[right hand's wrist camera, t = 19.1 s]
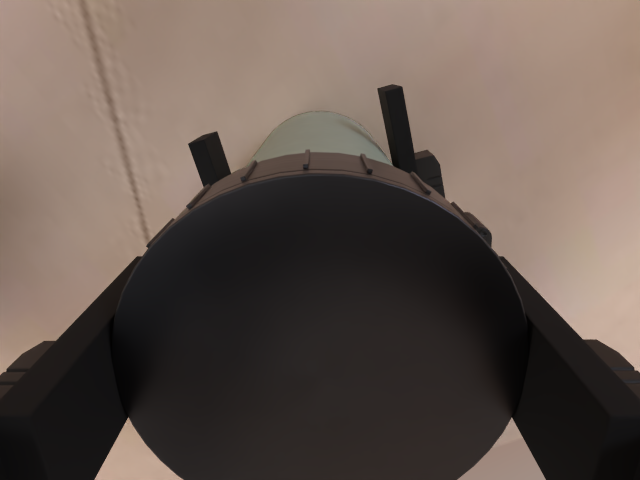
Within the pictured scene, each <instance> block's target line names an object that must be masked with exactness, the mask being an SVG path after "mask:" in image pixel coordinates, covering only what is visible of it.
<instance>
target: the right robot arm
mask: <svg viewBox="0 0 640 480" xmlns="http://www.w3.org/2000/svg"><path fill="white" fill-rule="evenodd" d="M141 258H142V256H137V257H136V258H135V259H134V260H133V261H132V262H131V263H130V264H129V265H128V266H127V267H126V269H125V270H124V271H123V272H122V273H121V274H120V275H119V276H118V277H117V278H116V279H115V280H114V281H113V282H112V283H111V284H110V285H109V286H108V287H107V288H106V289H105V290H104V291H103V292H102V294H101V295H100V296H99V297H98V298H97V299H96V300H95V301H94V302H93V303H92V304H91V305H90V306H89V307H88V308H87V309H86V310H85V311H84V312H83V313H82V314H81V315H80V316H79V318H78V319H77V320H76V321H75V322H74V323H73V324H72V325H71V326H70V327H69V328H68V329H67V330H66V331H65V332H64V333H63V334H62V335H61V336H60V337H59V338H58V339H57V340H56V341H44V342H42V343H40V344H38V345H37V346H35V347H33V348H32V349H30V350H28V351H27V352H25V353H23V354H22V355H21V356H20V357H19V358H18V359H17V360H16V361H15V362H14V363H12V364H11V365H10V366H9V367H8V368H7V371H6V372H3V373H2V374H1V375H0V480H94V479H95V477H96V475H97V474H98V472H99V470H100V468H101V466H102V464H103V463H104V461H105V459H106V457H107V455H108V453H109V452H110V450H111V448H112V446H113V444H114V442H115V441H116V439H117V437H118V435H119V433H120V431H121V430H122V428H123V426H124V424H125V422H126V420H127V419H128V415H127V413H126V411H125V409H124V407H123V404H122V401H121V398H120V395H119V392H118V388H117V384H116V379H115V374H114V369H113V363H112V331H113V324H114V318H115V313H116V309H117V306H118V303H119V300H120V297H121V294H122V291H123V289H124V287H125V285H126V283H127V281H128V279H129V277H130V275H131V273H132V271H133V269H134V267H135V266H136V265H137V263H138V262H139V260H140V259H141ZM499 258H500V259H501V261H502V262H503V264H504V265H505V266H506V267H507V268H508V270H509V274H510V275H511V277H512V279H513V281H514V284H515V286H516V288H517V291H518V293H519V295H520V298H521V300H522V304H523V308H524V312H525V316H526V320H527V326H528V338H529V357H528V365H527V371H526V375H525V380H524V385H523V390H522V394H521V397H520V399H519V402H518V404H517V407H516V410H515V412H514V414H513V416H512V418H513V420H514V422H515V424H516V425H517V427H518V429H519V431H520V433H521V435H522V436H523V438H524V440H525V442H526V444H527V446H528V447H529V449H530V451H531V453H532V455H533V457H534V458H535V460H536V462H537V464H538V466H539V467H540V469H541V471H542V473H543V475H544V477H545V479H546V480H640V373H639V372H638V371H635V370H634V367H633V366H632V365H631V364H630V363H629V362H628V361H627V360H626V359H625V358H624V357H623V356H622V355H621V354H620V353H618V352H617V351H615V350H613V349H612V348H610V347H608V346H606V345H605V344H603V343H601V342H600V341H598V340H583V339H582V338H581V337H580V336H579V335H578V334H577V333H576V332H575V331H574V330H573V329H572V328H571V327H570V326H569V324H568V323H567V322H566V321H565V320H564V319H563V318H562V317H561V316H560V315H559V314H558V313H557V312H556V311H555V310H554V309H553V308H552V307H551V306H550V305H549V304H548V303H547V302H546V301H545V299H544V298H543V297H542V296H541V295H540V294H539V293H538V292H537V291H536V290H535V289H534V288H533V287H532V286H531V285H530V284H529V283H528V282H527V281H526V280H525V279H524V278H523V277H522V275H521V274H520V273H519V272H518V271H517V270H516V269H515V268H514V267H513V266H512V265H511V264H510V263H509V262H508V261H507V260H506V259H505V258H504V257H503V256H499Z"/></svg>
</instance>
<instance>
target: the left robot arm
mask: <svg viewBox="0 0 640 480" xmlns="http://www.w3.org/2000/svg"><path fill="white" fill-rule="evenodd" d="M377 89H378V94H379V99H380V104H381V109H382V114H383V119H384V124H385V129H386V134H387V139H388V144H389V149H390V154H391V159H392V164H393V166H394V167H396V168H398V169H400V170H403V171H405V172H407V173H409V174H410V173H411V172H414V173H416V175H417V176H418V177H419V178H420V179H421V180H422V181H423V182H424V183H426V184H427V185H429V186H430V187H432V188H433V189H434V190H435V191H437V192H438V193H439V194H440V195H441V196H442V197H444V198H445V194H444V188H443V182H442V177H441V169H440V164H439V163H438V161H437V159H436V158H435V156H434V155H433V154H432V153H430V152H429V151H428V150H425V151H421V152H417V153H414V149H413V143H412V138H411V132H410V127H409V121H408V116H407V110H406V105H405V99H404V94H403V88H402V87H401V86H397V85H393V84H392V85H388V86H385V87H381V88H377ZM188 145H189V148H190V150H191V153H192V156H193V159H194V161H195V164H196V167H197V170H198V173H199V175H200V178H201V181H202V184H203V186H204V187H205V186H206V185H207V184H209V185H210V186H212V185H213V184H215V183H216V182H217V181H219V180H221V179H223V178H225V177H226V176H228V175H230V174H231V172H230V169H229V166H228V163H227V160H226V157H225V154H224V151H223V148H222V145H221V142H220V139H219V136H218V133H217V132H213V133H209V134H206V135H202V136H201V137H199V138H197V139H196V140H194V141H192V142H191V143H189V144H188ZM464 213H465V214H466V215H467V216H468V217H469V218H470V219H471V220H472V221H473V222H474V223H475V224H476V225H477V226H478V228H477V229H476V231H477V232H478V233H479V234H480V235H481V236H482V238H483V239H484V240H485V241H486V242H487V243H488V244H489V246H490V247H491V242H492V236H491V233H490V231H489V230H488V229H487V228H486V227H485V226H484V225H483V224H482V223H481V222H480V221H479V220H478V219H477V218H476V217H475V216H474V215H472V214H471V213H468V212H464Z"/></svg>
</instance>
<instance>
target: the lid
mask: <svg viewBox="0 0 640 480" xmlns="http://www.w3.org/2000/svg"><path fill="white" fill-rule="evenodd" d="M186 207H187V208H186V209H185V210H184V211H183V212H182V213H181V214H180V215H179V216H178V217H177V218H176V219H173V218H172V219H171V220H170V221H169V222H168V223H167V224H166V225H165V226H164V228H163V229H162V230H161V231H160V232H159V233H158V234H157V235H156V236H155V237H154V238H153V239H152V240H151V241H150V242H149V243H148V244H147V246H146V247H148V249H147V251H146V252H145V254H144V255H143V256H142V258H141V259H140V260H139V262H138V263H137V265H136V266H135V267H134V269H133V271H132V273H131V275H130V277H129V279H128V281H127V283H126V285H125V287H124V289H123V291H122V294H121V297H120V300H119V303H118V306H117V309H116V313H115V318H114V324H113V331H112V363H113V369H114V374H115V379H116V384H117V388H118V392H119V395H120V398H121V401H122V404H123V407H124V409H125V411H126V413H127V415H128V417H129V419H130V421H131V423H132V425H133V426H134V428H135V429H136V431H137V432H138V434H139V435H140V436H141V438H142V439H143V441H144V442H145V444H146V445H147V446H148V447H149V448H150V449H151V450H152V452H153V453H154V454H155V455H156V456H157V457H158V458H159V459H160V460H161V461H162V462H163V463H164V464H165V465H166V466H167V467H169V468H170V469H171V470H172V471H173V472H174V473H175V474H176V475H178V476H179V477H181V478H182V479H183V480H457V479H458V478H460V477H461V476H462V475H463V474H465V473H466V472H467V471H468V470H470V469H471V468H472V467H473V466H474V465H475V464H476V463H477V462H478V461H479V460H480V459H481V458H482V457H483V456H484V455H485V454H486V453H487V452H488V451H489V450H490V449H491V448H492V446H493V445H494V444H495V442H496V441H497V440H498V438H499V437H500V436H501V434H502V433H503V432H504V430H505V428H506V426H507V425H508V423H509V421H510V419H511V418H512V416H513V414H514V412H515V410H516V407H517V404H518V402H519V399H520V397H521V394H522V390H523V385H524V380H525V375H526V371H527V365H528V357H529V338H528V326H527V320H526V316H525V312H524V308H523V304H522V300H521V298H520V295H519V293H518V291H517V288H516V286H515V284H514V281H513V279H512V277H511V275H510V274H509V270H508V268H507V267H506V266H505V265H504V264H503V262H502V261H501V259H500V258H499V256H498V255H497V254H496V252H495V251H494V250H493V249H492V248H491V247H490V246H489V244H488V243H487V242H486V241H485V240H484V239H483V238H482V236H481V235H480V234H479V233H478V232H477V231H476V229H477V228H478V226H477V225H476V224H475V223H474V222H473V221H472V220H471V219H470V218H469V217H468V216H467V215H466V214H465V213H464V212H463V211H462V210H461V209H460V208H459V207H458V206H457V205H456V204H455V203H454V202H452V203H451V204H450V203H449V202H448V201H447V200H446V199H445V198H444V197H442V196H441V195H440V194H439V193H438V192H437V191H435V190H434V189H433V188H432V187H430V186H429V185H427V184H426V183H424V182H423V181H422V180H421V179H420V178H419V177H418V176H417V175H416V173H414V172H411V173H410V174H409V173H407V172H405V171H403V170H400V169H398V168H396V167H394V166H392V165H389V164H386V163H383V162H380V161H376V160H373V159H370V158H367V157H366V155H365V154H362V153H361V154H360V156H356V155H350V154H343V153H330V152H310V149H307V150H305V153H299V154H289V155H284V156H279V157H275V158H271V159H267V160H263V161H260V162H257V161H256V160H253V161H252V162H251V163H250V164H249V166H247V167H244V168H242V169H239V170H237V171H235V172H234V173H232V174H230V175H228V176H226V177H225V178H223V179H221V180H219V181H217V182H216V183H215V184H213V185H212V186H210V185H209V184H207V185H206V186H205V187H204V188H203V189H202V190H201V191H200V192H199V193H198V194H197V195H196V196H195V197H194V198H193V199H192V201H191V202H190V203H189V204H188V205H187V206H186Z"/></svg>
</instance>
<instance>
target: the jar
mask: <svg viewBox="0 0 640 480" xmlns="http://www.w3.org/2000/svg"><path fill="white" fill-rule="evenodd" d="M307 149H310V152H330V153H343V154H350V155H356V156H360V154H361V153H362V154H365V155H366V157H367V158H370V159H373V160H376V161H380V162H383V163H386V164H389V165H392V164H391V162H390V161H389V159H388V158H387V157H386V155H385V154H384V153H383V151H382V150H381V149H380V147H379V146H378V144H377V143H376V142H375V140H374V139H373V138H372V136H371V135H370V134H369V133H368V132H367V131H366V130H365V129H364V128H363V127H362V126H361V125H359V124H358V123H357V122H355V121H354V120H352V119H350V118H348V117H346V116H343V115H340V114H338V113H333V112H326V111H314V112H307V113H302V114H300V115H297V116H294V117H292V118H290V119H288V120H286V121H285V122H283V123H282V124H280V125H279V126H278V127H277V128H276V129H275V130H274V131H273V132H272V133H271V134H270V135H269V136H268V138H267V139H266V140H265V142H264V143H263V144H262V146H261V147H260V148H259V150H258V151H257V153H256V154H255V155H254V157H253V158H252V159H251V161H250V162H249V163H248V165H247V166H249V164H250V163H251V162H252V161H253V160H256V161H257V162H260V161H263V160H267V159H271V158H275V157H279V156H284V155H289V154H299V153H305V150H307ZM247 166H246V167H247ZM392 166H393V165H392Z"/></svg>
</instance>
